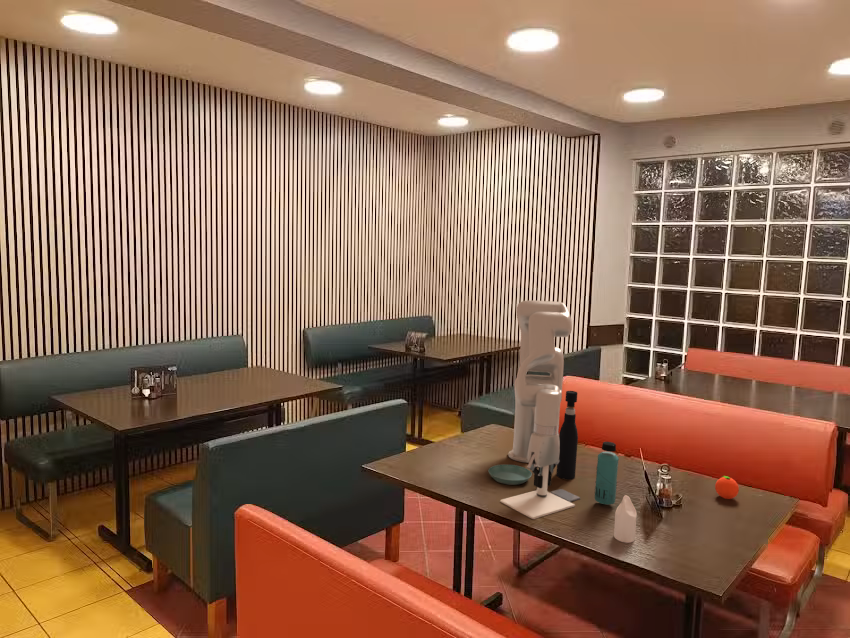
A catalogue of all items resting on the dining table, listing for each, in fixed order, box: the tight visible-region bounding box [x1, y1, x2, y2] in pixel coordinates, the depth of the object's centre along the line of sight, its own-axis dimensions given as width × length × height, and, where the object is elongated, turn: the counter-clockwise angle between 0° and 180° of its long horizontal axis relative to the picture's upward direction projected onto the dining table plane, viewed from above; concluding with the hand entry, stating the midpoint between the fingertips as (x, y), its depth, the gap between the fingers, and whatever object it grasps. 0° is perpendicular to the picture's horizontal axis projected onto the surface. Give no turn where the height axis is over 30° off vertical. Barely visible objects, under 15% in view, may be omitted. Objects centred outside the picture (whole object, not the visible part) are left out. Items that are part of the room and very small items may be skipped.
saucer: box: [488, 464, 533, 486], centre depth 207 cm, size 15×15×3 cm
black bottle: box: [556, 390, 579, 481], centre depth 210 cm, size 6×6×30 cm
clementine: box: [714, 475, 740, 500], centre depth 198 cm, size 8×7×7 cm
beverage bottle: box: [593, 441, 620, 506], centre depth 187 cm, size 6×7×20 cm
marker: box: [536, 465, 549, 497], centre depth 191 cm, size 3×3×12 cm
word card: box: [550, 488, 581, 503], centre depth 194 cm, size 5×8×1 cm, turn 35°
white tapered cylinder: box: [613, 494, 638, 544], centre depth 166 cm, size 6×12×6 cm
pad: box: [499, 489, 576, 520], centre depth 187 cm, size 18×14×1 cm
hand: (542, 485), depth 191 cm, fingers closed on marker, 3 cm apart
